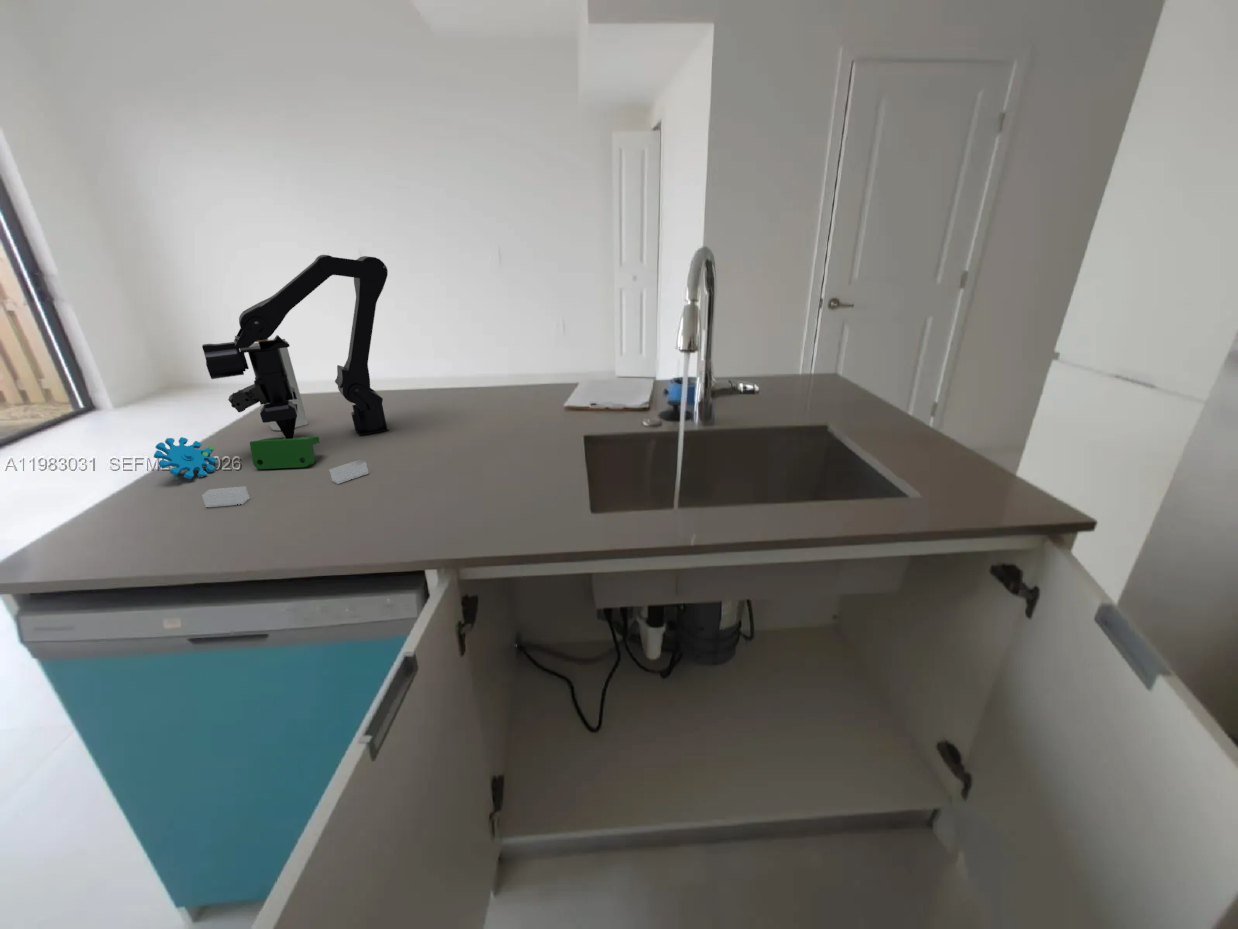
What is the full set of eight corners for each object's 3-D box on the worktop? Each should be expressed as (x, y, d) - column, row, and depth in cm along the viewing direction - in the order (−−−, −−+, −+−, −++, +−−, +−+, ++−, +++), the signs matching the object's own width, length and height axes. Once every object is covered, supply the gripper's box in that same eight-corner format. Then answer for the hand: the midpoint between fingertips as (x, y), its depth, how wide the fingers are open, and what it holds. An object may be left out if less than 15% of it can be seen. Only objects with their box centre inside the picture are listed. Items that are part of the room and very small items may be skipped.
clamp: (317, 478, 117) (329, 438, 115) (302, 484, 111) (315, 442, 109) (261, 459, 115) (273, 418, 114) (243, 463, 110) (255, 421, 108)
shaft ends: (367, 469, 109) (364, 458, 108) (370, 477, 105) (367, 465, 105) (207, 502, 98) (203, 490, 97) (204, 512, 94) (200, 500, 93)
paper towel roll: (265, 429, 133) (238, 341, 124) (287, 421, 138) (263, 336, 129) (286, 433, 130) (260, 342, 122) (308, 424, 135) (284, 337, 127)
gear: (180, 480, 103) (143, 441, 102) (168, 499, 105) (131, 461, 105) (233, 464, 113) (199, 429, 113) (221, 482, 115) (188, 447, 115)
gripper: (229, 367, 119) (250, 434, 125) (219, 387, 104) (244, 462, 110) (287, 360, 124) (305, 425, 130) (286, 378, 109) (306, 450, 115)
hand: (290, 440), depth 121 cm, fingers closed
